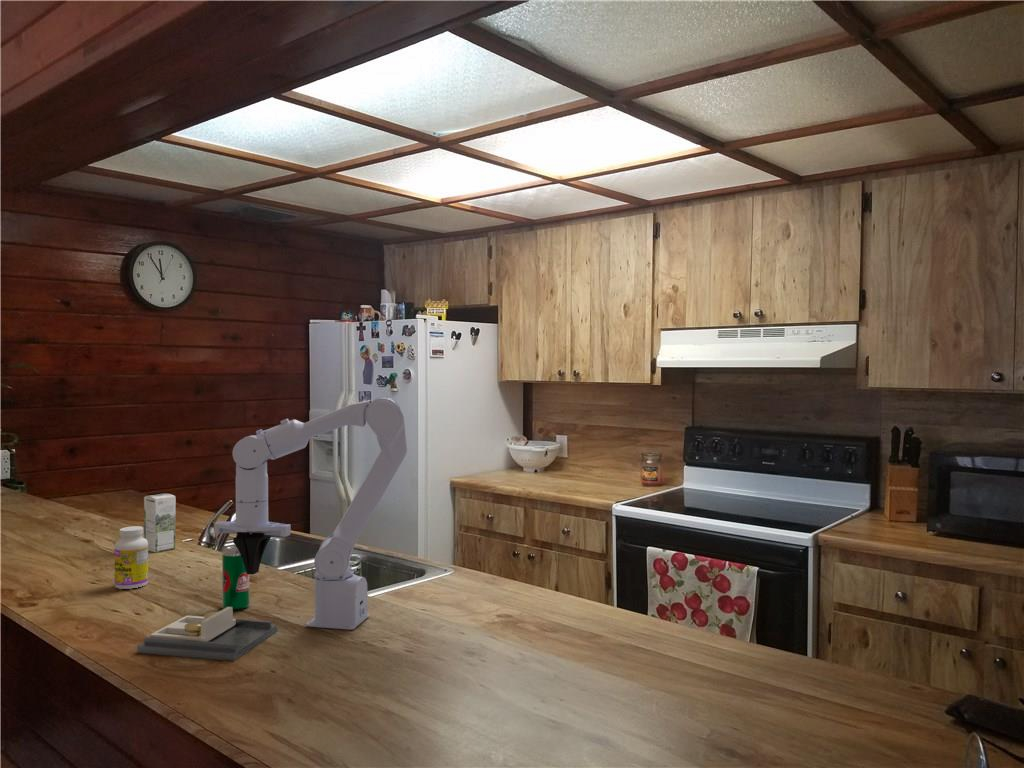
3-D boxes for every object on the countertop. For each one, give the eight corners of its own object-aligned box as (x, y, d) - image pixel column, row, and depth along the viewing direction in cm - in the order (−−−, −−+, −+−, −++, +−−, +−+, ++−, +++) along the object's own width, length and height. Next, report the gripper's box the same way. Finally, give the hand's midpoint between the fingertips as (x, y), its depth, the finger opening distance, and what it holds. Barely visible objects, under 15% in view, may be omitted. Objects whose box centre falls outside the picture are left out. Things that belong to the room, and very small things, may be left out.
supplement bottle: (107, 588, 162) (107, 530, 162) (133, 580, 168) (132, 524, 168) (130, 592, 160) (129, 532, 160) (155, 583, 166) (154, 526, 166)
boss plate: (277, 631, 135) (276, 610, 135) (233, 661, 122) (233, 637, 122) (188, 624, 139) (188, 604, 139) (137, 652, 125) (136, 629, 125)
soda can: (240, 612, 146) (240, 551, 146) (217, 610, 147) (217, 550, 147) (254, 604, 151) (254, 545, 151) (232, 602, 152) (231, 544, 152)
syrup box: (164, 545, 202) (164, 492, 201) (176, 549, 198) (175, 494, 198) (143, 550, 197) (143, 495, 197) (155, 553, 194) (155, 497, 193)
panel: (235, 624, 135) (235, 605, 135) (202, 644, 125) (202, 623, 125) (186, 620, 137) (186, 602, 137) (150, 640, 127) (150, 620, 127)
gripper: (204, 502, 136) (204, 576, 136) (276, 505, 133) (277, 581, 133) (226, 496, 143) (226, 566, 143) (295, 498, 140) (296, 570, 140)
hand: (252, 572), depth 138 cm, fingers closed
